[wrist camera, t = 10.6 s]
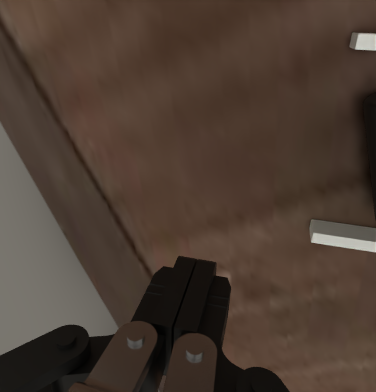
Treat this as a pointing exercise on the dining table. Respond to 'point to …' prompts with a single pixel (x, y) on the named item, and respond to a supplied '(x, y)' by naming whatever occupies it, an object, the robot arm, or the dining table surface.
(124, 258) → the dining table surface
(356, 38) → the frame
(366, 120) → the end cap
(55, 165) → the dining table surface
